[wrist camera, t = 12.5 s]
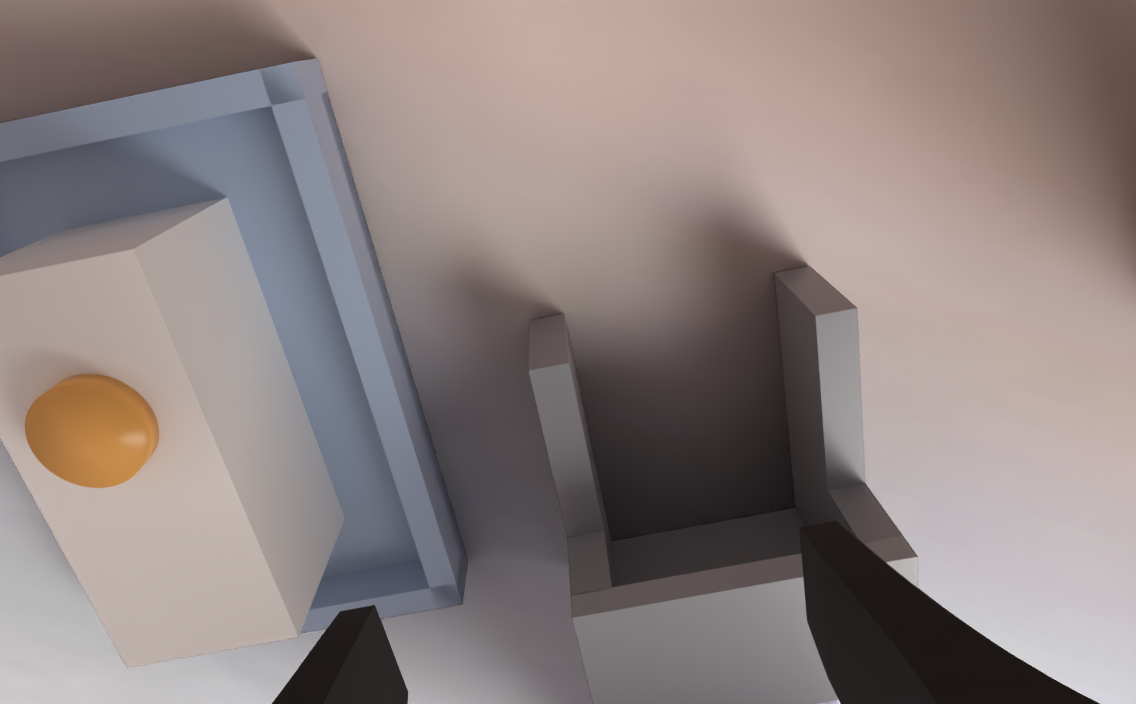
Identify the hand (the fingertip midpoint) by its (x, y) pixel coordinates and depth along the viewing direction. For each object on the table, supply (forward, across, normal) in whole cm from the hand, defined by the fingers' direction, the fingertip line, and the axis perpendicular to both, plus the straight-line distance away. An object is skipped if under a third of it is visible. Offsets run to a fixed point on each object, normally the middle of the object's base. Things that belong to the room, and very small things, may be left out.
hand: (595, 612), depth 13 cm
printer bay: (+10, -3, +3) cm, 11 cm away
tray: (+10, +10, -1) cm, 14 cm away
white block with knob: (+10, +10, -1) cm, 14 cm away
